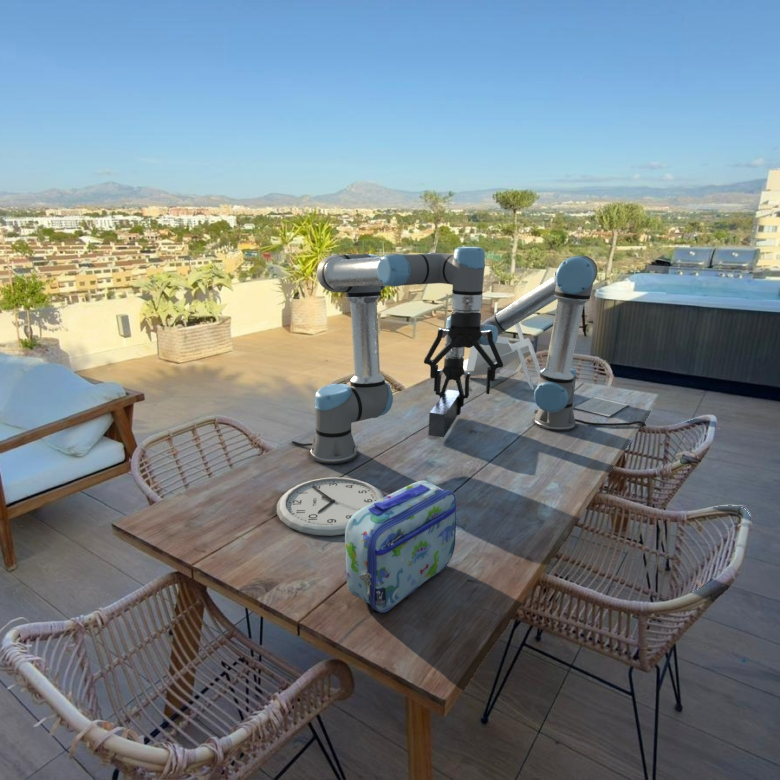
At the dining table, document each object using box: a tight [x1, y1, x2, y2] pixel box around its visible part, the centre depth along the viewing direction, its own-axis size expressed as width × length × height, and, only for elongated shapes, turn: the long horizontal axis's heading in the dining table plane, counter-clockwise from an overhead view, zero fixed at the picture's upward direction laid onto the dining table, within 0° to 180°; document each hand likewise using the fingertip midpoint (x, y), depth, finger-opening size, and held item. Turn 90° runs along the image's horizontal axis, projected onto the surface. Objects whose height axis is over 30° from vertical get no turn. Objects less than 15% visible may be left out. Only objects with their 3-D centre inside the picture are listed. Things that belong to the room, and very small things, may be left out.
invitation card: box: [573, 396, 629, 418], centre depth 226 cm, size 21×1×15 cm
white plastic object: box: [462, 322, 542, 391], centre depth 259 cm, size 37×45×31 cm
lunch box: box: [344, 480, 457, 614], centre depth 109 cm, size 26×11×21 cm, turn 135°
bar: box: [428, 389, 460, 438], centre depth 198 cm, size 29×6×9 cm, turn 161°
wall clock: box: [276, 476, 386, 537], centre depth 142 cm, size 30×2×30 cm
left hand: (461, 391), depth 138 cm, fingers open, 13 cm apart
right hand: (451, 412), depth 209 cm, fingers closed on bar, 6 cm apart
